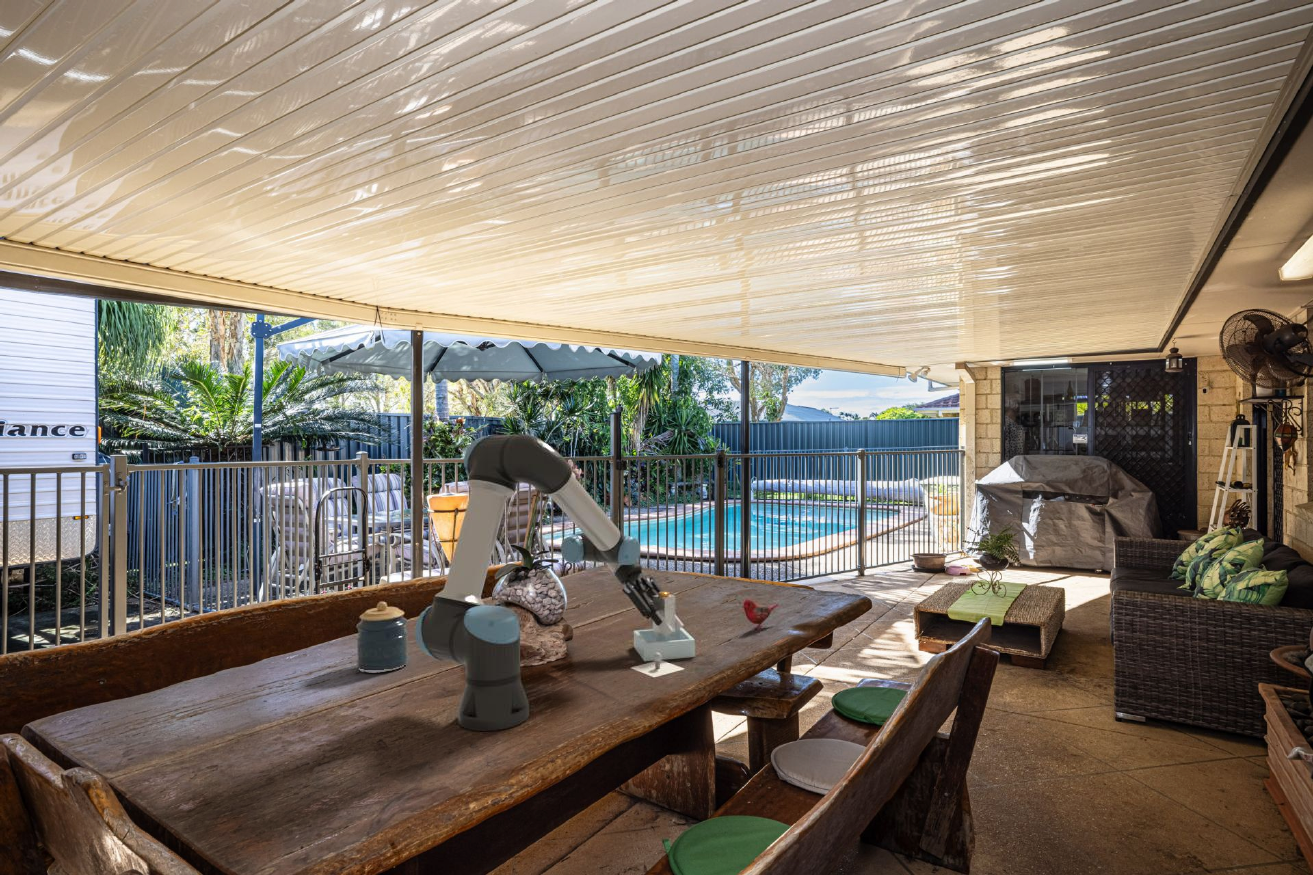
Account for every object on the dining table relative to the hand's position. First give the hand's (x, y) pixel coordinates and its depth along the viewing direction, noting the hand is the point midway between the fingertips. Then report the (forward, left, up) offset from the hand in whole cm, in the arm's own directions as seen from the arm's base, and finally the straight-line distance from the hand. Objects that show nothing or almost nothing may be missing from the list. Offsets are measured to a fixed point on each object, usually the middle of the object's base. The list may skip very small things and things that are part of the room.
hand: (674, 630), depth 199 cm
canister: (-78, +16, -8) cm, 80 cm away
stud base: (-8, -11, -8) cm, 16 cm away
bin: (-3, +3, -8) cm, 9 cm away
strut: (-3, +2, -4) cm, 5 cm away
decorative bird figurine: (+34, +24, -8) cm, 43 cm away
